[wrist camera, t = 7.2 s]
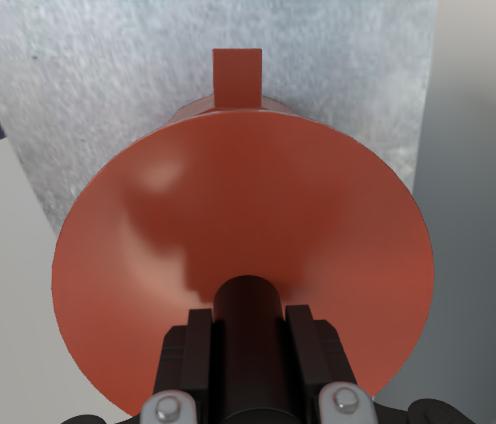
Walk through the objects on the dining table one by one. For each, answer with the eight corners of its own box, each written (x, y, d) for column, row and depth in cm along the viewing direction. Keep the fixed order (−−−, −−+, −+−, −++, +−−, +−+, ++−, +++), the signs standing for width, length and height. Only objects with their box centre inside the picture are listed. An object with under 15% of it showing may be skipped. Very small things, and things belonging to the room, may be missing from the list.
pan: (157, 292, 34) (136, 366, 26) (136, 48, 28) (101, 48, 20) (315, 288, 35) (342, 359, 27) (330, 48, 29) (370, 48, 21)
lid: (90, 431, 19) (17, 642, 12) (29, 110, 14) (-147, 169, 7) (400, 415, 19) (492, 608, 13) (446, 102, 15) (633, 150, 8)
